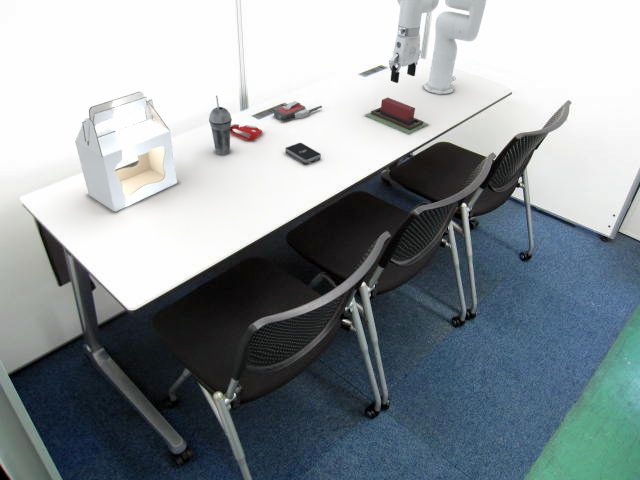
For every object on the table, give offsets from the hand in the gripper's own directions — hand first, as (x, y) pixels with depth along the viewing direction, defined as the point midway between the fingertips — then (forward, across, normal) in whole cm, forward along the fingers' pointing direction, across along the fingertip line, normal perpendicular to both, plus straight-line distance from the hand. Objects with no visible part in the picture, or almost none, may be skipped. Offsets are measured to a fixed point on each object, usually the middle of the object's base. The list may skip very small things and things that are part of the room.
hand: (402, 78), depth 199 cm
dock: (+16, -2, -1) cm, 16 cm away
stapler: (+15, -1, 0) cm, 15 cm away
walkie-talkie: (+16, -27, +28) cm, 42 cm away
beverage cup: (+15, -67, +22) cm, 72 cm away
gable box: (+14, -101, +20) cm, 104 cm away
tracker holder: (+15, -53, +27) cm, 61 cm away
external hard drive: (+15, -49, +2) cm, 51 cm away
